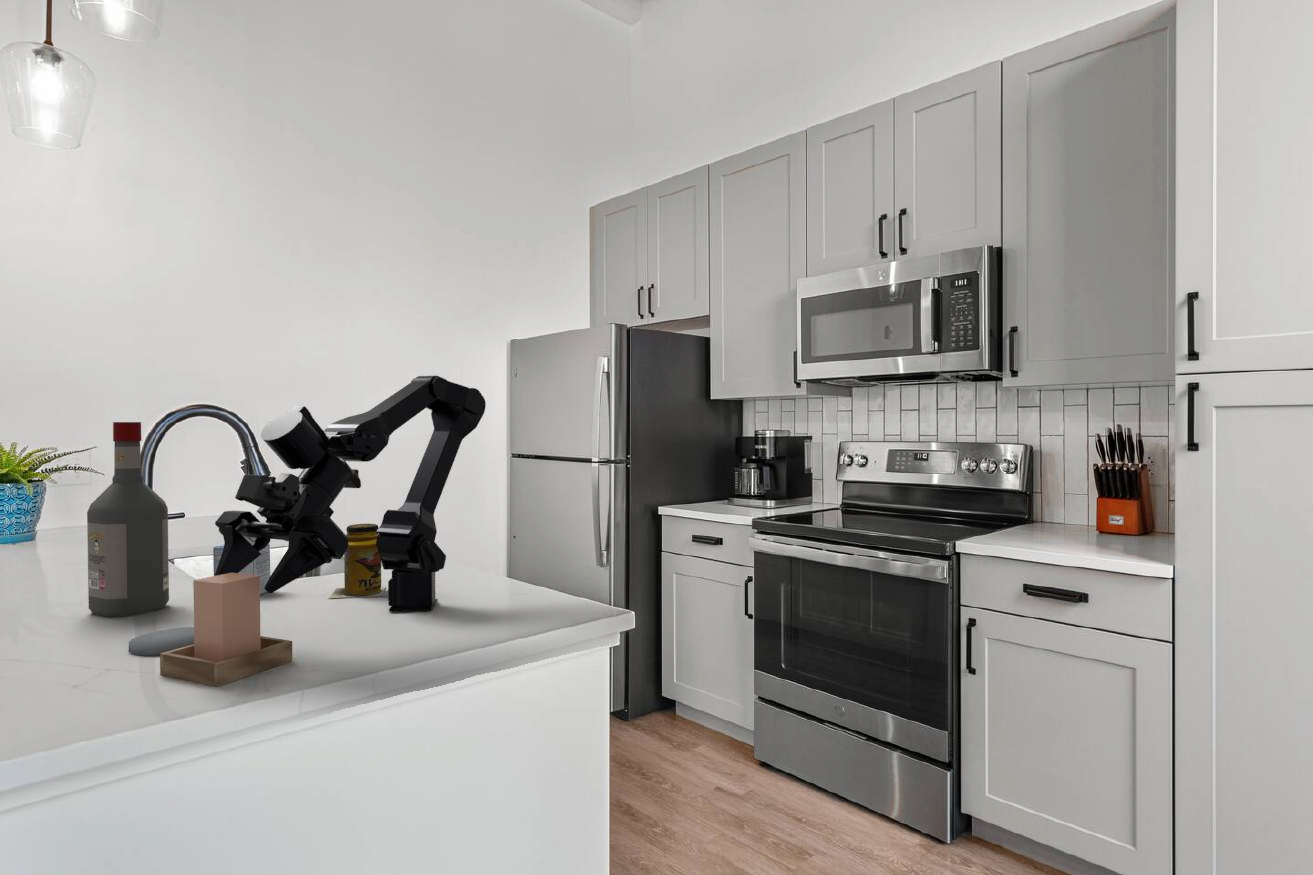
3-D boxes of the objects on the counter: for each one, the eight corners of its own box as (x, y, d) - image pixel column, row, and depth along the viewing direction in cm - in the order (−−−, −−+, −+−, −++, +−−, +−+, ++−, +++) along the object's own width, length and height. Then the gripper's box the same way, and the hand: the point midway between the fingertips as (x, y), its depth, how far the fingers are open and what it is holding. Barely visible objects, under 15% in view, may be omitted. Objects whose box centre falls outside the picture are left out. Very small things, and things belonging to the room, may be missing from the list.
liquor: (113, 619, 114) (110, 422, 114) (82, 612, 118) (79, 422, 118) (175, 606, 122) (173, 422, 122) (144, 600, 127) (141, 422, 126)
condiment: (380, 596, 129) (380, 527, 129) (327, 599, 127) (327, 528, 127) (386, 587, 136) (385, 521, 136) (336, 590, 135) (335, 523, 134)
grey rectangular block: (271, 591, 134) (271, 542, 133) (255, 597, 129) (255, 546, 129) (230, 590, 134) (229, 542, 134) (212, 596, 130) (212, 546, 130)
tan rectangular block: (232, 659, 95) (231, 572, 95) (260, 664, 93) (259, 575, 93) (194, 671, 90) (193, 580, 90) (223, 676, 88) (221, 583, 88)
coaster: (229, 632, 107) (229, 625, 107) (194, 654, 97) (194, 646, 97) (154, 634, 106) (154, 627, 106) (111, 656, 96) (111, 649, 96)
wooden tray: (237, 651, 98) (236, 632, 98) (292, 660, 94) (292, 640, 94) (160, 674, 89) (159, 653, 89) (217, 686, 85) (217, 664, 85)
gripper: (228, 450, 102) (144, 543, 92) (330, 452, 94) (252, 554, 84) (278, 503, 109) (206, 595, 99) (377, 509, 101) (310, 609, 91)
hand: (240, 587), depth 93 cm, fingers open, 9 cm apart
